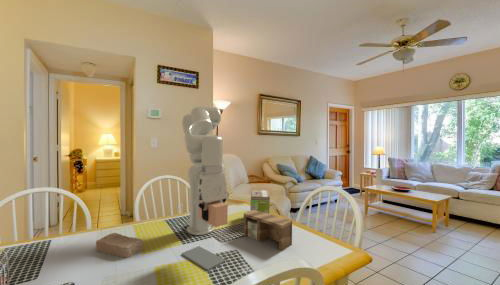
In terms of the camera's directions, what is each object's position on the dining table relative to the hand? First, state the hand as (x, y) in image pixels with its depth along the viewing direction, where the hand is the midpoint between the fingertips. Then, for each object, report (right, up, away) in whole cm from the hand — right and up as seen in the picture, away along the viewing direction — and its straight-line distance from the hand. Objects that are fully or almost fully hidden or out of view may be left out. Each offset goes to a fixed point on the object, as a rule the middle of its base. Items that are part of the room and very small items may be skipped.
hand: (212, 217), depth 88 cm
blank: (0, -1, 0) cm, 1 cm away
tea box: (+19, -14, +40) cm, 47 cm away
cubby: (+21, -15, +16) cm, 30 cm away
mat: (-3, -15, 0) cm, 15 cm away
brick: (-37, -15, +6) cm, 41 cm away
